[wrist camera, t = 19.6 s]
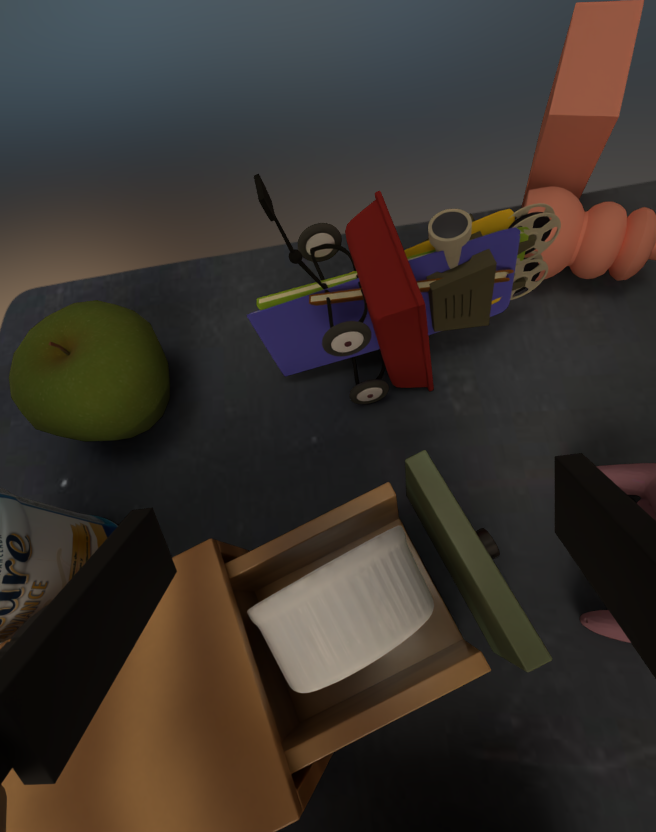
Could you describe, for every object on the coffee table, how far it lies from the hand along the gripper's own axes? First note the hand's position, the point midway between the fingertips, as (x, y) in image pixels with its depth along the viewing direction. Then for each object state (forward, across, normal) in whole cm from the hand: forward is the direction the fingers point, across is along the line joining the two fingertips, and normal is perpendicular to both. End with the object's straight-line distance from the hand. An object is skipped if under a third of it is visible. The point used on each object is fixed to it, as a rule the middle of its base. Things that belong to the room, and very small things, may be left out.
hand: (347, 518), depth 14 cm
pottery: (+27, +16, +12) cm, 34 cm away
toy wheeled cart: (+22, +4, 0) cm, 23 cm away
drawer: (+9, -1, -12) cm, 15 cm away
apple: (+21, -19, -1) cm, 28 cm away
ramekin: (+3, -1, -10) cm, 11 cm away
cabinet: (+6, -12, -16) cm, 21 cm away
